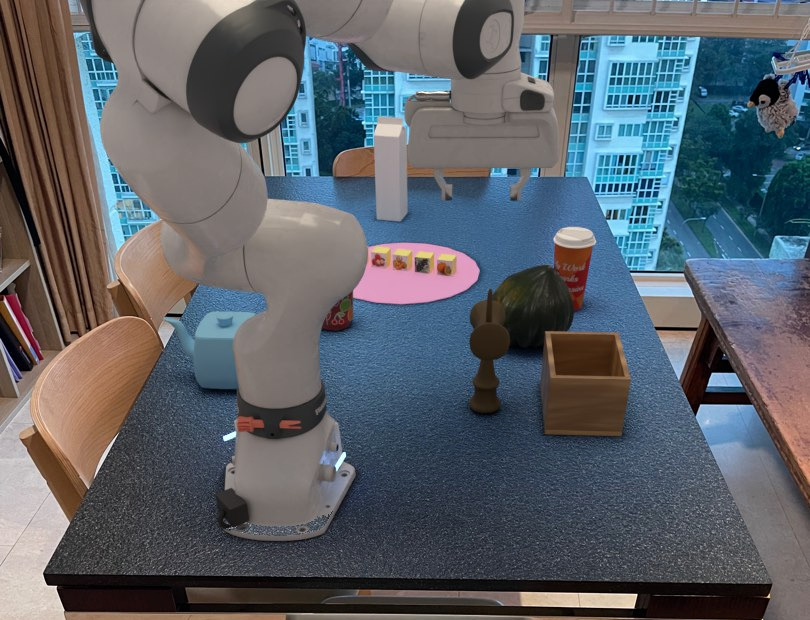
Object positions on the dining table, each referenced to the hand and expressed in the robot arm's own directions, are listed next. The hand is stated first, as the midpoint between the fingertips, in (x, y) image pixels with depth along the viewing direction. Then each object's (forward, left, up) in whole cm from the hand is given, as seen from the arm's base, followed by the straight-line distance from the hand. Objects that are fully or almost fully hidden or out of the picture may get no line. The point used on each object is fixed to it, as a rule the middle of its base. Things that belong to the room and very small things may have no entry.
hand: (480, 199), depth 122 cm
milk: (+86, +20, -33) cm, 94 cm away
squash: (+23, -10, -33) cm, 41 cm away
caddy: (-1, -17, -32) cm, 36 cm away
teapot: (+7, +42, -33) cm, 54 cm away
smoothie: (+28, +26, -33) cm, 50 cm away
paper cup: (+38, -18, -33) cm, 53 cm away
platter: (+53, +15, -33) cm, 64 cm away
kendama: (-1, -2, -33) cm, 33 cm away
